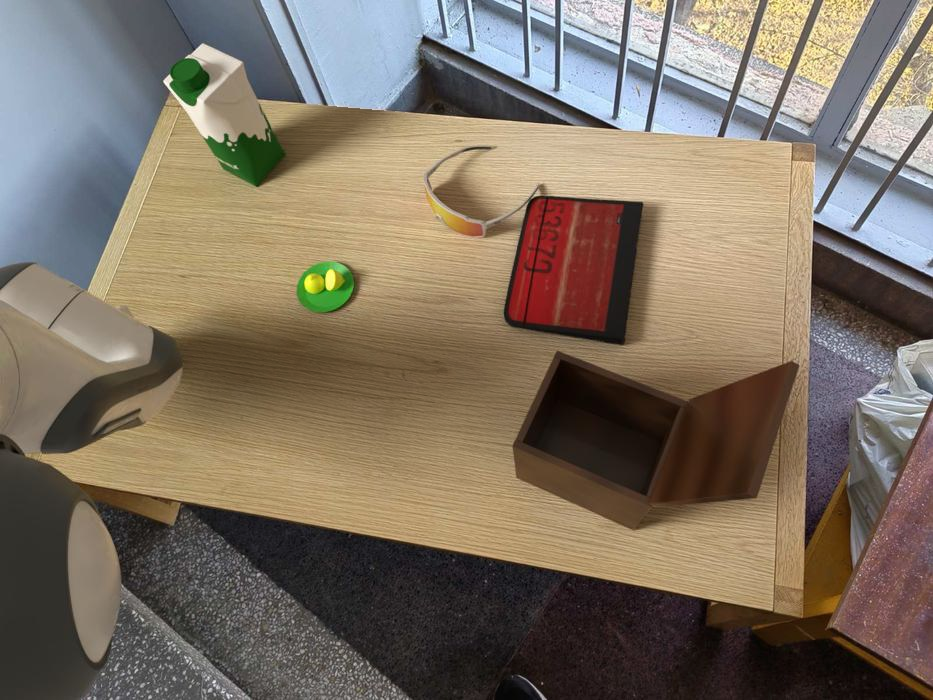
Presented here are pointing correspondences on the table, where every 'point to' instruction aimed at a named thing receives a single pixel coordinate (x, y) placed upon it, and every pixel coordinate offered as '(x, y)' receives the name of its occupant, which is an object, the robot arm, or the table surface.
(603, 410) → the chest
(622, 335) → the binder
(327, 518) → the table surface
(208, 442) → the table surface
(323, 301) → the plate with lemons
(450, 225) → the sunglasses
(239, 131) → the soya milk
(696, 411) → the chest lid
